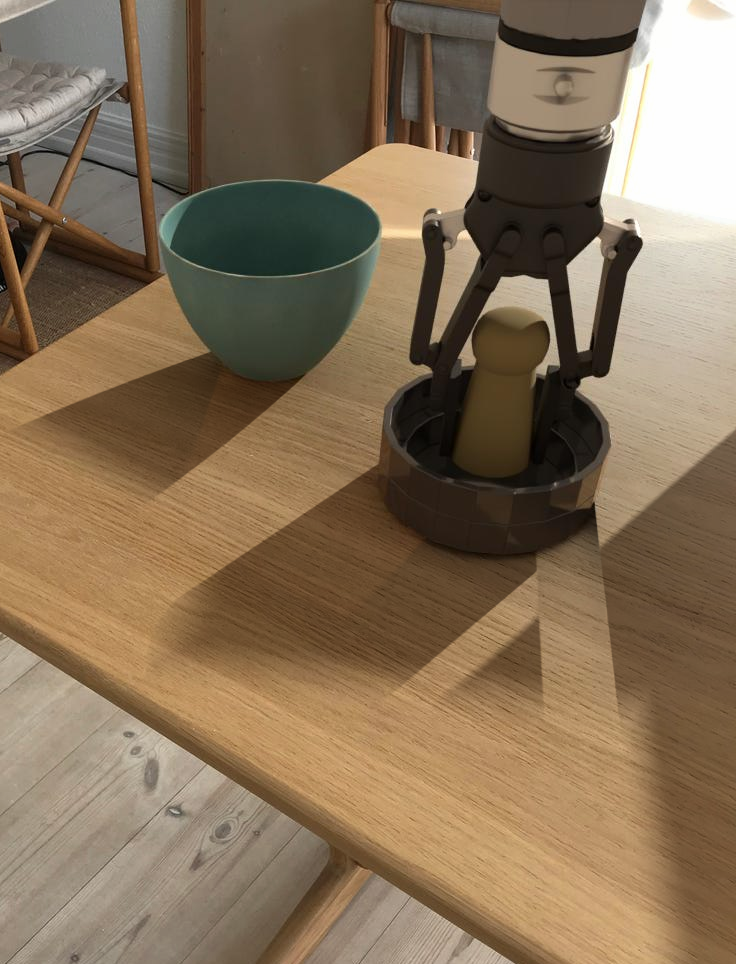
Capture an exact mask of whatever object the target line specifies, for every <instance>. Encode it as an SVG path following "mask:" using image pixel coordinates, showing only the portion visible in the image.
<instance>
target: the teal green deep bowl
mask: <svg viewBox="0 0 736 964" xmlns="http://www.w3.org/2000/svg"><path fill="white" fill-rule="evenodd" d="M382 234H383V222H382V219H381V217H380V215H379V213H378V212H377V211H376V210H375V208H374V207H373V206H372V205H370V204H369V203H368V202H367V201H365V200H364V199H362V198H361V197H359V196H357V195H355V194H353V193H350V192H349V191H346V190H344V189H340V188H337V187H334V186H330V185H326V184H322V183H316V182H310V181H302V180H295V179H293V180H292V179H291V180H290V179H258V180H257V179H256V180H247V181H239V182H232V183H227V184H223V185H219V186H214V187H211V188H207V189H205V190H202V191H199V192H196V193H194V194H192V195H189V196H188V197H186V198H183V199H182V200H181V201H179V202H177V203H176V204H175V205H173V206H172V207H171V208H169V209H168V210H167V212H165V214H164V215H163V216H162V218H161V220H160V222H159V225H158V235H159V236H158V239H159V244H160V245H159V246H160V249H161V251H160V252H161V255H162V259H163V263H164V267H165V272H166V275H167V278H168V280H169V285H170V286H171V289H172V291H173V294H174V296H175V297H174V298H175V299H176V301H177V304H178V305H179V307H180V309H181V311H182V314H183V315H184V317H185V319H186V320H187V323H188V324H189V326H190V327H191V328H192V330H193V332H194V333H195V335H196V336H197V338H199V340H200V341H201V342H202V344H203V345H204V346H205V347H206V348H207V349H208V350H209V351H210V352H211V353H212V354H213V355H214V356H215V358H216V359H218V361H220V362H221V363H222V364H223V365H224V366H225V367H226V368H227V369H229V370H230V371H231V372H233V373H235V374H236V375H238V376H240V377H243V378H245V379H249V380H252V381H256V382H257V381H258V382H266V383H267V382H269V383H270V382H283V381H284V382H285V381H289V380H293V379H297V378H300V377H301V376H304V375H305V374H307V373H309V372H310V371H311V370H313V369H314V368H315V367H316V366H318V365H319V364H320V363H321V362H322V361H323V360H324V359H325V358H326V357H327V356H328V355H329V354H330V353H331V351H333V350H334V348H335V347H336V346H337V345H338V344H339V342H340V341H341V340H342V338H343V337H344V336H345V335H346V333H347V332H348V330H349V328H350V327H351V325H352V324H353V322H354V321H355V319H356V317H357V315H358V314H359V312H360V309H361V307H362V305H363V303H364V301H365V299H366V296H367V294H368V291H369V288H370V285H371V283H372V280H373V276H374V273H375V270H376V265H377V262H378V258H379V254H380V248H381V243H382V242H381V241H382Z"/></svg>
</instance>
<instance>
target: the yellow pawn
mask: <svg viewBox="0 0 736 964" xmlns="http://www.w3.org/2000/svg"><path fill="white" fill-rule="evenodd" d="M470 341H471V349H472V355H473V357H474V359H475V363H474V365H475V366H474V369H473V372H472V375H471V379H470V382H469V385H468V388H467V392H466V395H465V398H464V401H463V405H462V408H461V411H460V414H459V418H458V421H457V424H456V427H455V431H454V434H453V438H452V444H451V451H450V457H451V458H452V460H453V461H454V463H455V464H456V465H458V466H459V467H460V468H462V469H463V470H465V471H467V472H470V473H472V474H474V475H479V476H483V477H492V478H502V477H508V476H513V475H515V474H518V473H520V472H522V471H523V470H524V469H526V468H527V467H528V466H529V464H530V461H531V458H532V440H533V422H534V405H535V387H536V373H537V369H538V367H539V366H540V365H541V364H542V363H543V362H544V360H545V358H546V356H547V354H548V351H549V349H550V345H551V331H550V327H549V325H548V323H547V322H546V320H545V319H544V317H543V316H542V315H540V314H538V313H537V312H535V311H533V310H532V309H528V308H525V307H520V306H508V305H507V306H500V307H496V308H493V309H490V310H488V311H486V312H485V313H483V314H481V317H479V318H478V320H477V322H476V324H475V326H474V328H473V330H472V332H471V339H470Z"/></svg>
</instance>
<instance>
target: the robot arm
mask: <svg viewBox="0 0 736 964" xmlns="http://www.w3.org/2000/svg"><path fill="white" fill-rule="evenodd" d="M646 4H647V0H501V1H500V10H499V15H500V16H499V19H498V25H497V26H498V27H497V32H496V34H495V40H494V48H493V54H492V63H491V70H490V77H489V84H488V92H487V99H486V107H487V109H488V110H489V112H490V113H491V114H490V115H489V117H487V118H486V119H485V121H484V122H483V129H482V136H481V144H480V148H479V149H480V150H479V156H478V164H477V172H476V179H475V185H474V188H473V191H472V194H471V195H470V196H469V198H468V199H467V201H466V202H465V204H464V207H463V208H459V209H455V210H450V211H446V212H441V211H440V209H437V208H435V207H431V208H429V209H427V210H426V211H424V214H423V217H422V227H421V239H422V245H423V250H424V255H425V258H424V264H423V270H422V276H421V281H420V285H419V292H418V298H417V303H416V309H415V314H414V319H413V324H412V325H413V326H412V331H411V337H410V344H409V345H410V346H409V354H408V360H409V362H410V363H411V364H412V365H414V366H425V367H428V368H429V369H430V370H431V373H432V372H433V376H432V384H431V392H430V408H431V411H438V412H444V413H443V421H442V428H441V435H440V453H439V456H443V457H450V451H451V444H452V438H453V431H454V424H455V417H456V410H457V404H458V397H459V390H460V383H461V369H462V365H463V359H462V358H459V357H460V354H461V353H462V352H463V349H464V348H465V345H466V344H467V341H468V339H469V337H470V335H471V334H472V332H473V330H474V328H475V325H476V323H477V322H478V320H479V319H480V316H481V315H482V312H483V310H484V309H485V306H486V304H487V302H488V300H489V298H490V296H491V295H492V293H494V292H495V290H496V288H497V286H498V284H499V283H500V280H501V279H502V278H515V277H516V278H517V277H521V276H526V277H529V278H532V279H535V280H547V282H548V289H549V290H548V291H549V296H550V304H551V310H552V318H553V319H552V320H553V327H554V332H555V340H556V347H557V354H558V361H559V364H558V365H556V364H547V367H546V371H545V375H546V376H545V381H544V386H543V391H542V395H541V400H540V405H539V409H538V414H537V419H536V424H535V428H534V433H533V440H532V462H533V464H542V465H543V463H544V458H545V454H546V450H547V445H548V441H549V436H550V432H551V427H552V423H553V420H560V421H566V419H567V418H568V417H569V415H570V412H571V407H572V404H573V399H574V395H575V391H576V390H578V388H579V387H580V386H581V384H582V380H583V379H586V378H589V377H594V378H596V379H602V378H605V377H606V376H607V375H609V373H610V370H611V365H612V359H613V354H614V349H615V344H616V343H615V342H616V337H617V331H618V327H619V321H620V316H621V310H622V306H623V305H622V304H623V299H624V294H625V288H626V283H627V279H628V278H627V277H628V273H629V272H630V269H631V267H632V266H633V264H634V262H635V260H637V257H638V255H639V254H640V252H641V250H642V249H643V246H644V240H643V235H642V232H641V228H640V224H639V221H638V220H636V219H635V218H627V219H624V220H623V221H620V220H617V219H614V218H611V217H608V216H606V215H604V211H603V207H602V203H601V200H602V193H603V189H604V185H605V180H606V176H607V172H608V167H609V163H610V158H611V154H612V150H613V145H614V140H615V136H616V132H615V129H614V128H613V125H612V123H613V122H614V121H615V120H617V118H618V117H619V116H620V114H621V113H620V112H621V109H622V103H623V99H624V95H625V90H626V87H627V86H626V85H627V81H628V75H629V70H630V66H631V62H632V57H633V54H634V53H633V52H634V49H635V48H634V47H635V43H636V42H637V38H638V34H639V30H640V25H641V23H642V20H643V19H642V18H643V15H644V11H645V8H646ZM463 231H467V233H468V235H469V236H470V238H471V240H472V242H473V243H474V245H475V247H476V249H477V250H478V252H479V256H478V257H477V260H476V264H475V267H474V269H473V272H472V274H471V276H470V278H469V280H468V282H467V284H466V286H465V287H464V290H463V292H462V294H461V296H460V297H459V300H458V302H457V304H456V306H455V308H454V310H453V312H452V314H451V317H450V318H449V320H448V322H447V324H446V327H445V329H444V331H443V333H442V335H441V337H440V339H439V341H436V340H433V339H432V333H433V328H434V325H435V319H436V313H437V309H438V302H439V298H440V293H441V287H442V282H443V277H444V271H445V265H446V252H447V251H450V250H452V249H454V248H455V247H456V245H457V243H458V242H457V241H458V237H459V235H460V233H462V232H463ZM596 238H598V239H599V240H600V243H599V247H600V254H601V256H602V257H603V262H602V267H601V274H600V281H599V286H598V293H597V299H596V303H595V304H596V305H595V310H594V316H593V323H592V329H591V335H590V341H589V347H588V349H587V350H582V351H578V345H577V338H576V329H575V321H574V313H573V305H572V297H571V296H572V295H571V288H570V281H569V274H568V273H569V272H568V265H569V264H570V263H572V262H573V261H574V259H575V258H577V257H578V256H579V255H580V254H581V253H582V252H583V251H584V250H585V249H586V248H588V246H589V245H590V244H591V243H592V242H593V241H594V240H595V239H596Z"/></svg>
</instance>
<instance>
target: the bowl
mask: <svg viewBox="0 0 736 964" xmlns="http://www.w3.org/2000/svg"><path fill="white" fill-rule="evenodd" d="M474 366H475V364H473V365H463V366H462V369H461V383H460V390H459V397H458V404H457V410H456V417H455V424H454V431H455V427H456V424H457V421H458V418H459V414H460V411H461V408H462V405H463V401H464V398H465V395H466V392H467V388H468V385H469V382H470V379H471V375H472V372H473V369H474ZM432 376H433V372H432V371H431V372H430V373H426V374H422V375H419V376H417V377H416V378H414V379H412V380H411V381H409V382H407V383H406V384H404V385H403V386H401V387H399V388H398V389H396V391H395V392H394V394H393V395H392V396H391V398H390V399H389V400H388V402H387V403H386V405H384V409H383V418H382V427H381V437H380V448H379V460H378V473H377V485H376V486H377V488H378V491H379V493H380V496H381V498H382V501H383V503H384V505H385V507H386V508H387V509H388V510H389V511H390V512H391V513H392V515H393V516H394V517H395V518H396V519H397V520H398V521H399V522H400V523H401V524H403V526H405V527H406V528H408V529H410V530H412V531H414V532H415V533H417V534H418V535H420V536H422V537H423V538H425V539H427V540H429V541H431V542H433V543H436V544H440V545H443V546H446V547H449V548H453V549H455V550H459V551H464V552H468V553H469V552H470V553H479V554H490V555H504V556H505V555H513V554H522V553H531V552H538V551H540V550H543V549H546V548H549V547H552V546H554V545H557V544H559V543H562V542H565V541H567V540H568V539H569V538H570V537H572V536H573V535H575V533H576V532H577V531H579V530H580V529H582V528H583V527H584V526H585V525H586V524H587V523H588V521H589V518H591V514H592V512H593V510H594V508H595V506H596V503H595V502H596V499H597V497H598V495H599V492H600V488H601V484H602V481H603V477H604V474H605V470H606V467H607V463H608V459H609V455H610V452H611V450H612V445H613V442H612V435H611V430H610V429H611V428H610V423H609V421H608V420H607V419H606V418H607V417H605V415H604V414H603V412H602V411H601V410H600V408H599V407H598V406H597V404H596V403H595V402H593V401H592V400H591V399H589V398H588V397H587V396H586V395H584V394H582V393H581V392H580V391H579V390H578V389H576V391H575V395H574V399H573V404H572V407H571V412H570V415H569V417H568V418H567V419H566V421H560V420H553V423H552V427H551V432H550V436H549V441H548V445H547V450H546V454H545V458H544V463H543V465H542V464H533V462H532V458H531V461H530V464H529V466H528V467H527V468H526V469H524V470H523V471H522V472H520V473H518V474H515V475H513V476H508V477H502V478H492V477H483V476H479V475H474V474H472V473H470V472H467V471H465V470H463V469H462V468H460V467H459V466H458V465H456V464H455V463H454V461H453V460H452V458H451V457H443V456H439V453H440V435H441V428H442V421H443V413H444V412H438V411H431V408H430V392H431V384H432ZM545 376H546V374H543V373H539V372H536V387H535V405H534V422H533V433H534V428H535V424H536V419H537V414H538V409H539V405H540V400H541V395H542V391H543V386H544V381H545ZM454 431H453V434H454Z"/></svg>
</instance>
